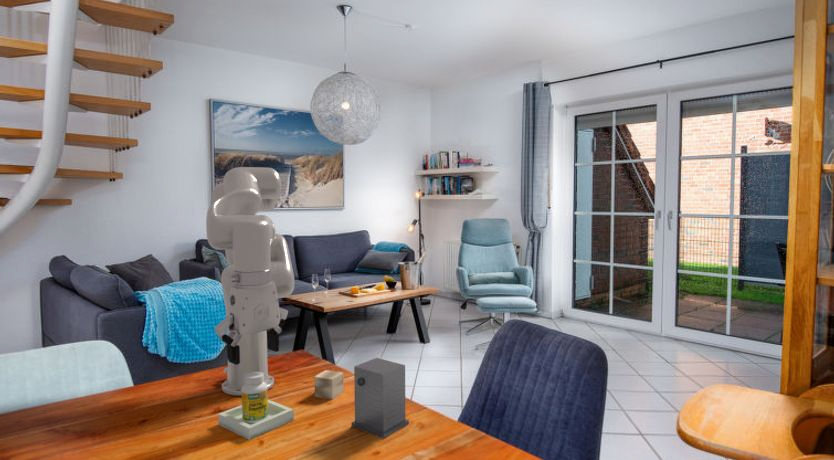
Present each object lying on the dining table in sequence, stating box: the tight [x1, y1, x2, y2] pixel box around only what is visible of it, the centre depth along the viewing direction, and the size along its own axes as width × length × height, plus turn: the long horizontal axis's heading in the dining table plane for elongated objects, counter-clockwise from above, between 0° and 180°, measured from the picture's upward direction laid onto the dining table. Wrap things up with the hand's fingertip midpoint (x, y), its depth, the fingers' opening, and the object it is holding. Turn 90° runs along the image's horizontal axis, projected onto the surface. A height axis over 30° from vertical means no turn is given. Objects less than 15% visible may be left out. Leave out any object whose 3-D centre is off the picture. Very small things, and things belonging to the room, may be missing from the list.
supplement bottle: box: [241, 372, 269, 424], centre depth 108 cm, size 5×5×10 cm
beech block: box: [313, 369, 344, 401], centre depth 124 cm, size 5×5×5 cm
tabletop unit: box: [351, 357, 410, 439], centre depth 107 cm, size 9×8×13 cm
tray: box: [217, 399, 295, 441], centre depth 108 cm, size 11×11×2 cm
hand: (254, 356), depth 108 cm, fingers open, 9 cm apart
